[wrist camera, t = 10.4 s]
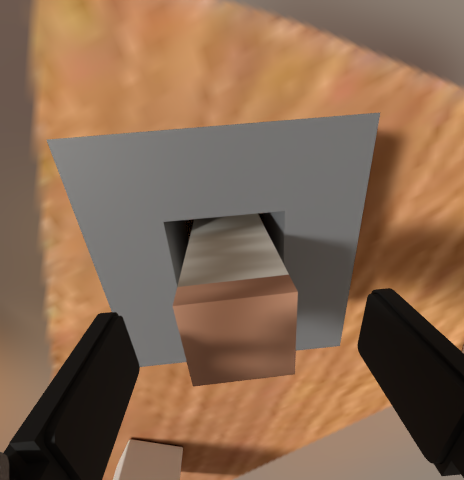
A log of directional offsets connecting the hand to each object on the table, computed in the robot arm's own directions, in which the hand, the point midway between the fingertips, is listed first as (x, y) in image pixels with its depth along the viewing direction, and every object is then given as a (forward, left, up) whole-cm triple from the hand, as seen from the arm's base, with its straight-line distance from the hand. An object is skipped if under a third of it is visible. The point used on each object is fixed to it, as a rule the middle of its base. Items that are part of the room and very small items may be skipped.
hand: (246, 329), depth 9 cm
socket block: (0, 0, -10) cm, 10 cm away
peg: (0, 0, -10) cm, 10 cm away
